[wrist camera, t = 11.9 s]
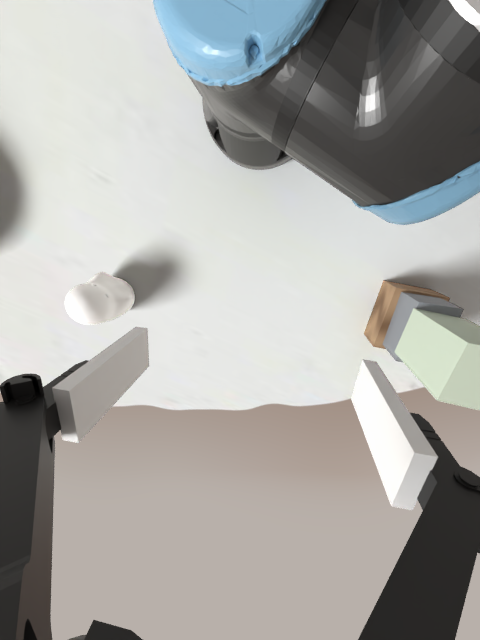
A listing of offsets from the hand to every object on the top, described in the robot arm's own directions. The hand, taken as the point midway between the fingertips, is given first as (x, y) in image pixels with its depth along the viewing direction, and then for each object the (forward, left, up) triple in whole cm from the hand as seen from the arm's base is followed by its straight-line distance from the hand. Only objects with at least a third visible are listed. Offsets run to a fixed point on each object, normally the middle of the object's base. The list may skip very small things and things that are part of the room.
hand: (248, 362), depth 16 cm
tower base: (+2, +21, -29) cm, 35 cm away
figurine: (+8, -25, -29) cm, 39 cm away
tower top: (+2, +21, -24) cm, 31 cm away
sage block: (+2, +21, -19) cm, 28 cm away
